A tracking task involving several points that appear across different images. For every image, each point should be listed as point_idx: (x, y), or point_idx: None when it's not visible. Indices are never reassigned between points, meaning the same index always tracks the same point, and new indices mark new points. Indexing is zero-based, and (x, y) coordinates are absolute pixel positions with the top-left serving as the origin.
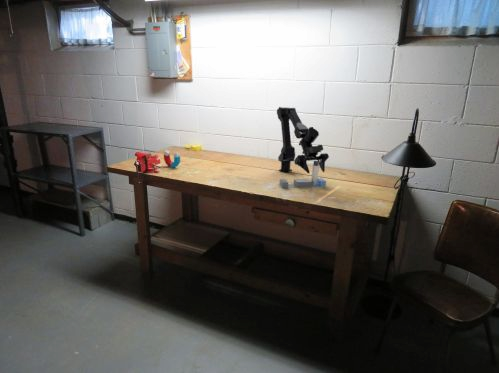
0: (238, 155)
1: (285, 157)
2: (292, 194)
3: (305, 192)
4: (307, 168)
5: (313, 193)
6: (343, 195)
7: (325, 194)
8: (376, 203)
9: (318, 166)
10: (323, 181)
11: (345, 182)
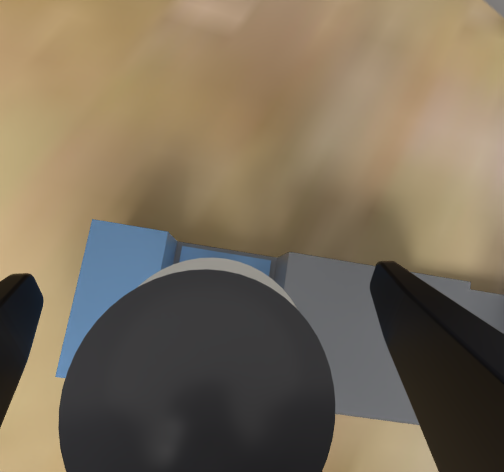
0: None
1: None
2: (500, 170)
3: (372, 184)
4: (460, 315)
5: (314, 140)
6: (75, 15)
7: (222, 86)
8: None
9: (160, 273)
10: (130, 226)
11: None
